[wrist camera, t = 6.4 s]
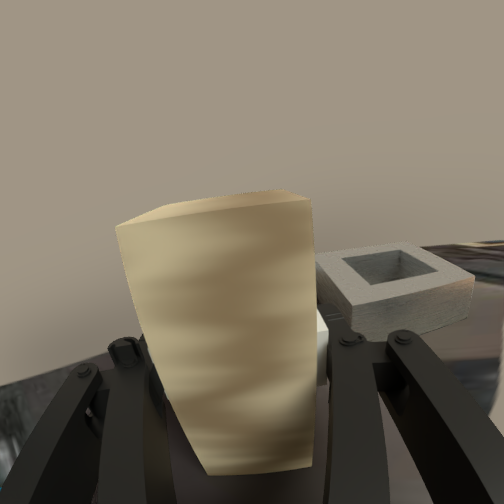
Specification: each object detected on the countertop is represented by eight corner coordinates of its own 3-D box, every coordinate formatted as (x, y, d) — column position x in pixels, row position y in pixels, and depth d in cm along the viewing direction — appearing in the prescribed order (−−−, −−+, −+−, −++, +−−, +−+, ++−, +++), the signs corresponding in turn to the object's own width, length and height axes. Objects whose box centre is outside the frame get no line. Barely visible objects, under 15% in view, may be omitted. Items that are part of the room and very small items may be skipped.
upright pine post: (207, 475, 10) (114, 226, 6) (213, 408, 15) (164, 205, 11) (311, 466, 10) (310, 199, 6) (296, 400, 15) (281, 189, 11)
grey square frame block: (349, 353, 18) (352, 305, 17) (312, 289, 29) (310, 254, 28) (466, 317, 18) (475, 276, 17) (404, 273, 30) (406, 241, 28)
